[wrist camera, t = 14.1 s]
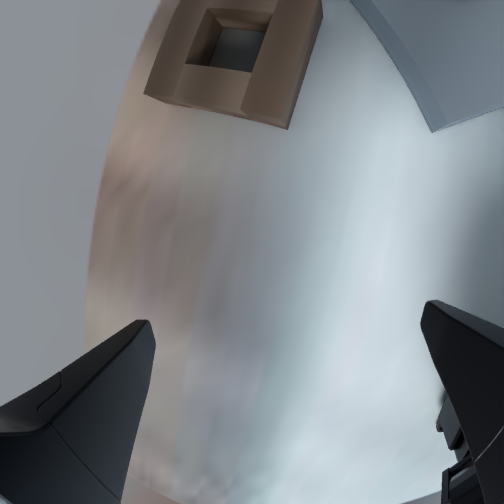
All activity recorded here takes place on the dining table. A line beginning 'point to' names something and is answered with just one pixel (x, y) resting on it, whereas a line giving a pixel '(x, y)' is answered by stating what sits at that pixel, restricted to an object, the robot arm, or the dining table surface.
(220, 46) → the dining table surface
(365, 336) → the dining table surface
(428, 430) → the dining table surface
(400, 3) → the board
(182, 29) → the frame
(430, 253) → the dining table surface
